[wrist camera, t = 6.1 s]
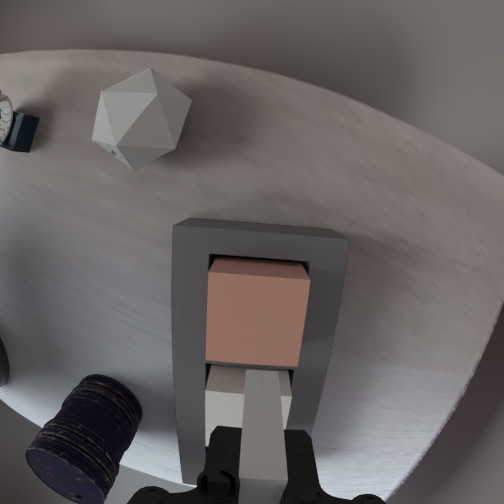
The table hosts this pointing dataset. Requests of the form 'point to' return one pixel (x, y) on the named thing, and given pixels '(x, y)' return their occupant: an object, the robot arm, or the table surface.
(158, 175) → the table surface
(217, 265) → the terracotta key
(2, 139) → the watch
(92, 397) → the storage jar
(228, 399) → the white key
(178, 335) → the keypad housing
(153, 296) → the table surface
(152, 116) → the die
